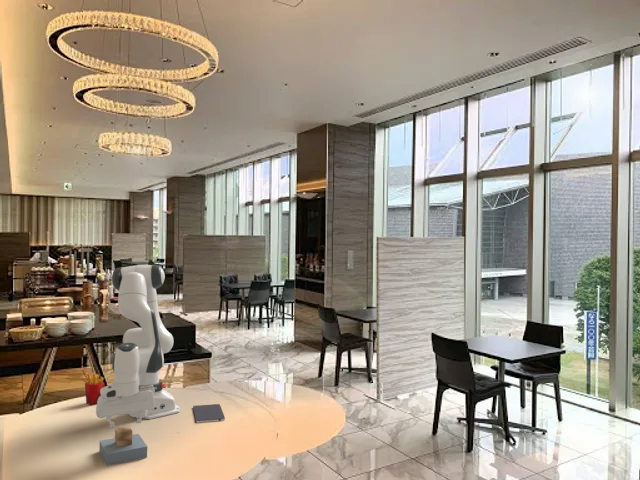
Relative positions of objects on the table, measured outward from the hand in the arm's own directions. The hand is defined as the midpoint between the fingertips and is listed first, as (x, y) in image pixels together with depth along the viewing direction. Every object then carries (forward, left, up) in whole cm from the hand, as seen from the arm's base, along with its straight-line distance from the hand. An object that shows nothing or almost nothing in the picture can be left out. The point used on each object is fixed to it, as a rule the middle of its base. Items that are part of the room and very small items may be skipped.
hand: (125, 425), depth 180 cm
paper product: (-42, -27, -11) cm, 52 cm away
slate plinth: (+1, 0, -11) cm, 11 cm away
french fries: (+2, -67, -11) cm, 68 cm away
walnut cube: (+1, 0, -7) cm, 7 cm away
